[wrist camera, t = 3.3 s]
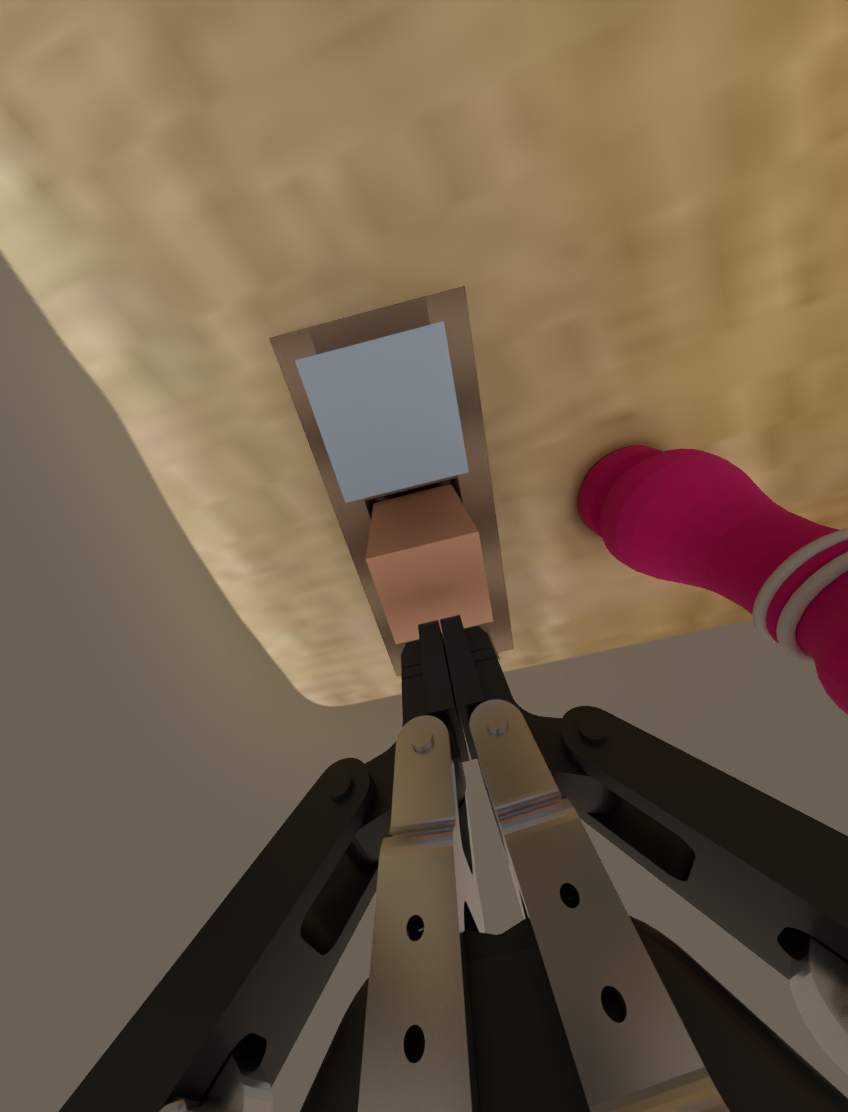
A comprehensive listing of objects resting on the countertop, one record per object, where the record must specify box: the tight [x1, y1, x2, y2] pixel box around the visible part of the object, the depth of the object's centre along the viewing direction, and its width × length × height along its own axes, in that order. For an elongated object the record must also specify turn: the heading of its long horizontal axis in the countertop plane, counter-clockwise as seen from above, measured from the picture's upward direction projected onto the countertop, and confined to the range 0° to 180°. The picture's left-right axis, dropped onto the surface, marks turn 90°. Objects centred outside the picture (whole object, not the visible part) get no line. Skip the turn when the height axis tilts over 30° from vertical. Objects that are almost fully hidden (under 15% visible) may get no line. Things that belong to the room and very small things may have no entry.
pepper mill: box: [578, 446, 848, 714], centre depth 14 cm, size 7×7×20 cm
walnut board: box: [269, 286, 514, 676], centre depth 21 cm, size 22×9×3 cm, turn 13°
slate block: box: [295, 321, 469, 503], centre depth 14 cm, size 5×5×7 cm
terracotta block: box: [366, 484, 493, 644], centre depth 17 cm, size 5×5×7 cm
